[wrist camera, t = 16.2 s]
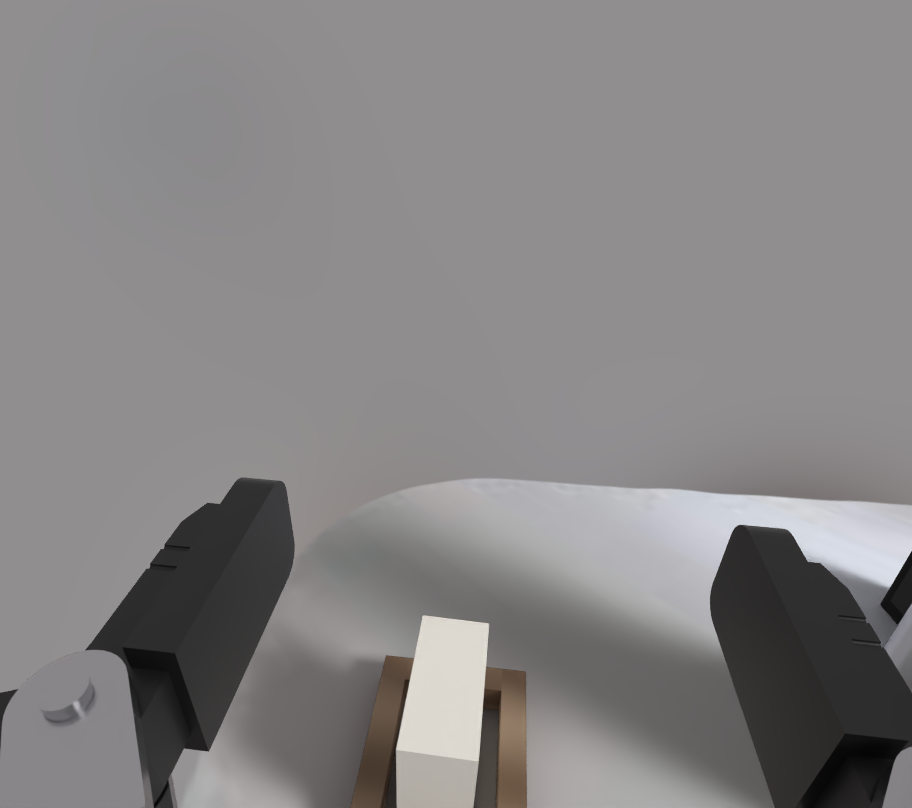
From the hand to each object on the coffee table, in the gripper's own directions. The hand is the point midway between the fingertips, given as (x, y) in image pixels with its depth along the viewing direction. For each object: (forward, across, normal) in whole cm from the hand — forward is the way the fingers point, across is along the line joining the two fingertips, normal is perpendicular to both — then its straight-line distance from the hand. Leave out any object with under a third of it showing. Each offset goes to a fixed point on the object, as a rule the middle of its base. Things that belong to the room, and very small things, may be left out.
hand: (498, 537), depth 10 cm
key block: (+9, +2, +28) cm, 29 cm away
